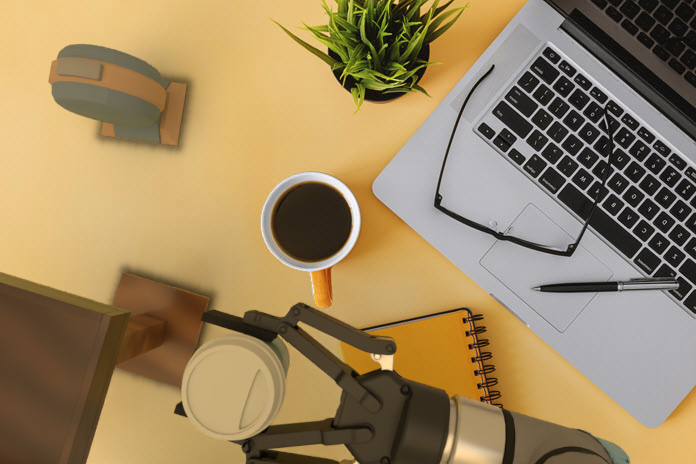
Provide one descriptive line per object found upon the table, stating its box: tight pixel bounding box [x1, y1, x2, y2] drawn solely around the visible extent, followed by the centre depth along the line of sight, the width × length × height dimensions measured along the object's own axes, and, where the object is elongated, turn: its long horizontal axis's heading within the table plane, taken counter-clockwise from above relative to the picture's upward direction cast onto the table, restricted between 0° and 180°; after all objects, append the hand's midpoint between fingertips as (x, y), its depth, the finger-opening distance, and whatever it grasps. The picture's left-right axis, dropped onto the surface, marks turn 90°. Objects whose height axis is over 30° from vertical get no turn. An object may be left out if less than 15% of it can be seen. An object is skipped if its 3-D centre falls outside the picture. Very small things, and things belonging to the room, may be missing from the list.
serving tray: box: [0, 271, 131, 464], centre depth 44 cm, size 18×18×4 cm
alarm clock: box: [48, 43, 188, 147], centre depth 67 cm, size 14×10×18 cm
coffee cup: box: [180, 332, 291, 442], centre depth 44 cm, size 8×9×12 cm
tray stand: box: [112, 272, 211, 389], centre depth 60 cm, size 14×14×29 cm
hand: (194, 359), depth 43 cm, fingers closed on coffee cup, 8 cm apart
